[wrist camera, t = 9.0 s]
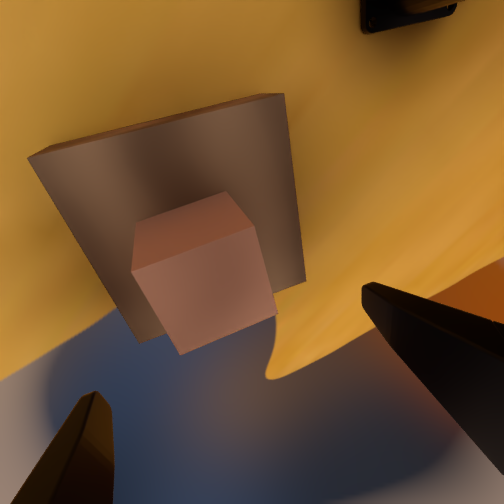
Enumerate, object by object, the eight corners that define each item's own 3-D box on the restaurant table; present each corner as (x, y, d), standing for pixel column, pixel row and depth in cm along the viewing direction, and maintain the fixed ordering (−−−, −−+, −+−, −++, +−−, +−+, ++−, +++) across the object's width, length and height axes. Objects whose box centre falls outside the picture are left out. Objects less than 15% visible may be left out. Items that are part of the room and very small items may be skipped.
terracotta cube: (226, 190, 16) (254, 225, 11) (248, 263, 18) (278, 313, 14) (136, 222, 15) (131, 272, 11) (172, 293, 18) (180, 355, 13)
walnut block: (257, 93, 18) (283, 93, 14) (284, 254, 24) (306, 280, 21) (52, 144, 16) (26, 157, 12) (140, 305, 22) (139, 343, 19)
